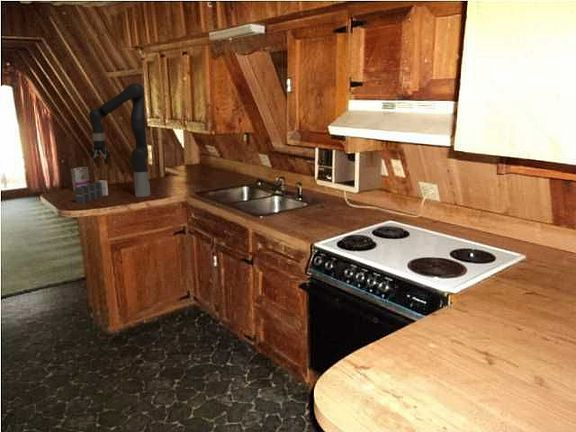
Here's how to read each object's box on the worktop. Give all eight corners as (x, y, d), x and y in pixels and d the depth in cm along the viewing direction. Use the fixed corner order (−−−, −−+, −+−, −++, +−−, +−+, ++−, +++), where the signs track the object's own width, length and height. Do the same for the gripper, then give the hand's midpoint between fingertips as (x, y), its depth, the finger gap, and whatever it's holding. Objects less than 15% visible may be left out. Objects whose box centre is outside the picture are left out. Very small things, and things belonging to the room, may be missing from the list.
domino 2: (84, 200, 303) (83, 185, 300) (91, 200, 302) (89, 185, 299) (82, 200, 301) (81, 186, 298) (89, 201, 300) (87, 186, 297)
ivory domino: (101, 194, 320) (100, 180, 317) (108, 194, 319) (106, 180, 316) (100, 194, 318) (98, 180, 315) (106, 195, 317) (105, 181, 314)
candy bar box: (87, 188, 337) (85, 166, 332) (91, 189, 334) (88, 167, 329) (72, 190, 328) (70, 168, 324) (76, 191, 325) (73, 169, 321)
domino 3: (90, 198, 309) (89, 183, 306) (97, 198, 308) (95, 184, 305) (88, 198, 307) (87, 184, 304) (95, 199, 306) (93, 184, 303)
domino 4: (96, 196, 314) (95, 181, 312) (102, 196, 313) (101, 182, 310) (94, 196, 312) (93, 182, 310) (100, 197, 311) (99, 183, 308)
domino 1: (78, 202, 298) (77, 187, 295) (85, 202, 296) (83, 187, 294) (76, 202, 296) (74, 187, 293) (83, 203, 294) (81, 188, 292)
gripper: (111, 139, 310) (113, 163, 314) (93, 138, 313) (95, 162, 318) (104, 140, 303) (106, 165, 307) (86, 139, 306) (88, 164, 311)
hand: (101, 163), depth 312 cm, fingers open, 7 cm apart
